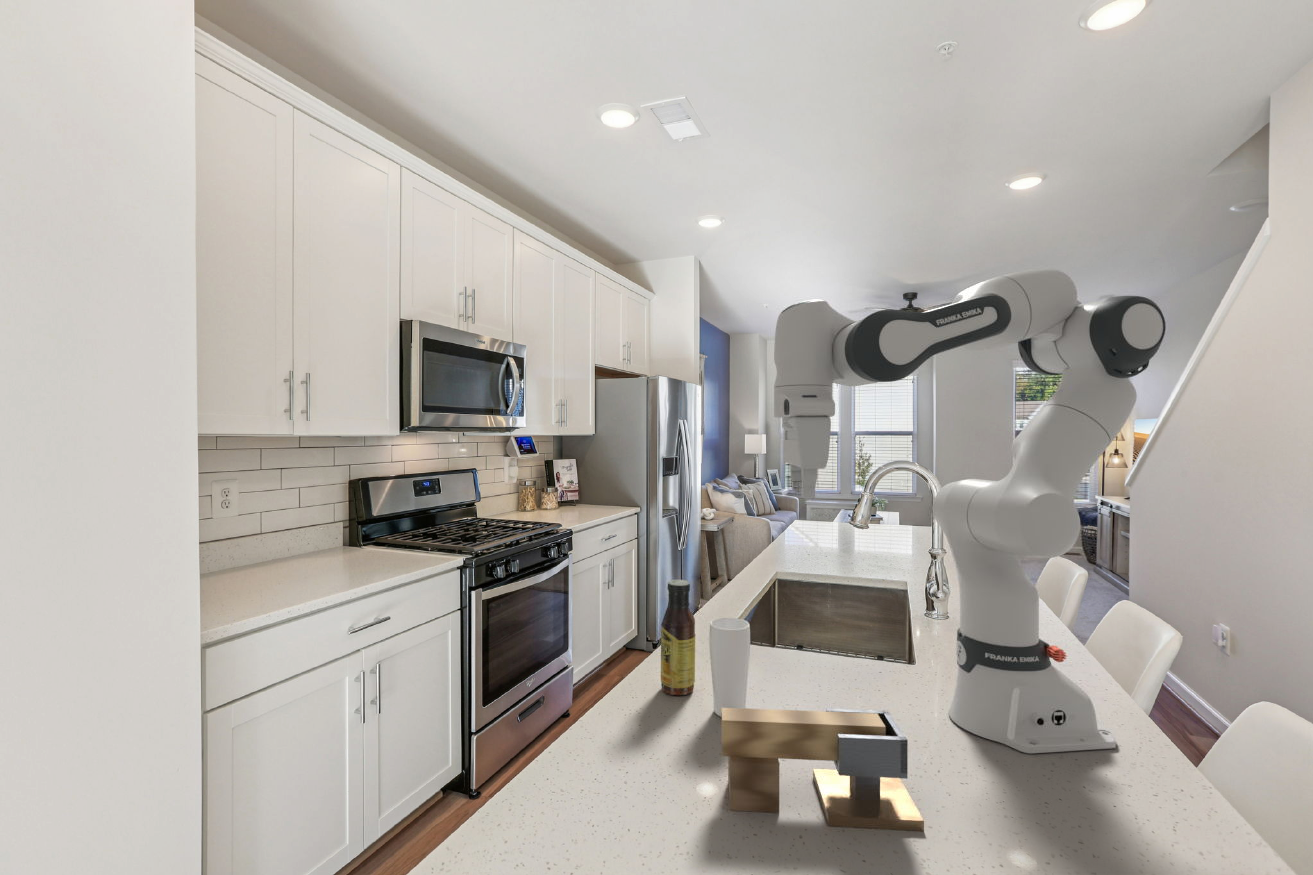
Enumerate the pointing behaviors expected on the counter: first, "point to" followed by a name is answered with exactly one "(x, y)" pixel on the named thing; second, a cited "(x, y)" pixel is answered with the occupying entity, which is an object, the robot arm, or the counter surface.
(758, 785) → the walnut block
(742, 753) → the oak rail
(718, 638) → the drinking glass
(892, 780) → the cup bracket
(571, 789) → the counter surface
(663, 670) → the sauce bottle
